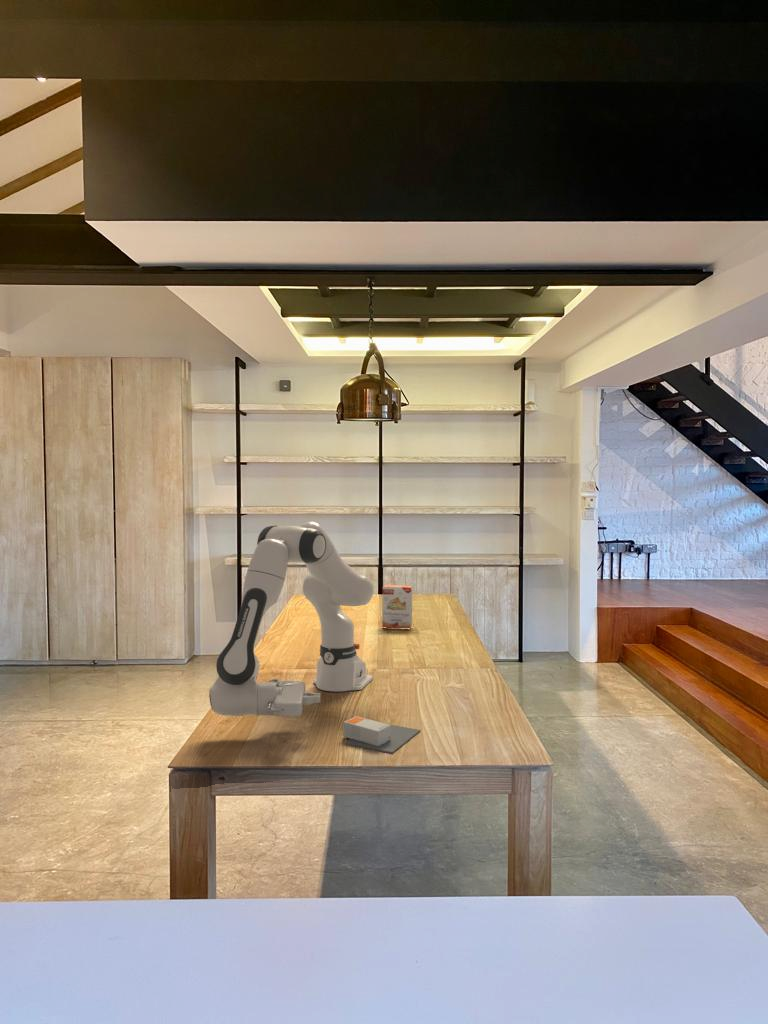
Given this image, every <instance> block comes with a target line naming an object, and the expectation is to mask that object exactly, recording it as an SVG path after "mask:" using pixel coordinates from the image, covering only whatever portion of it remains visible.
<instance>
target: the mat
mask: <svg viewBox="0 0 768 1024" xmlns="http://www.w3.org/2000/svg"><path fill="white" fill-rule="evenodd" d="M390 725H391V740H389V741H387V742H386V743H384V744H382V745H380V746H375V745H371V744H368V743H364V742H361V741H358V740H354V739H351V738H349V739H348V740H347V741H345V742H344V745H346V746H351V747H357V748H362V749H368V750H373V751H378V752H382V753H387V754H394V753H395V752H397V751H398V750H400V748H402V747H403V746H404V745H405V744H406V743H408V742H409V741H410V740H412V739H413V738H415V736H417V735H418V734H419V733H420V732H421V729H417V728H411V727H405V726H401V725H393V724H390Z"/></svg>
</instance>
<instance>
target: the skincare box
mask: <svg viewBox="0 0 768 1024" xmlns="http://www.w3.org/2000/svg"><path fill="white" fill-rule="evenodd" d="M391 725H392V724H389V723H388V724H387V723H384V722H380V721H376V720H374V719H373V720H372V719H368V718H366V717H363V716H357V715H356V716H353V717H351V718H349V719H346V720H345V721H343V722H342V737H344V738H348V739H354V740H358V741H361V742H364V743H368V744H371V745H375V746H380V745H382V744H384V743H386V742H387V741H389V740H391Z"/></svg>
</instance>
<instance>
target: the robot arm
mask: <svg viewBox="0 0 768 1024" xmlns="http://www.w3.org/2000/svg"><path fill="white" fill-rule="evenodd" d="M256 542H257V543H256V544H257V545H256V547H255V549H254V552H253V554H252V557H251V559H250V561H249V564H248V567H247V570H246V574H245V577H244V581H243V582H244V583H243V590H242V597H241V598H242V599H241V605H240V608H239V609H240V610H239V612H238V616H237V619H236V623H235V624H234V628H233V632H232V634H231V637H230V640H229V641H228V643H227V645H226V646H225V647H224V648H223V650H222V651H221V652H220V654H219V656H218V657H217V660H216V664H215V665H216V673H217V675H218V676H217V678H216V680H215V681H214V683H213V684H212V685H211V686H210V687H209V694H208V695H209V696H208V697H209V703H210V706H211V710H212V711H213V712H214V713H215V714H217V715H219V716H227V717H245V716H248V715H253V716H256V717H260V716H262V717H263V716H266V717H267V716H279V717H294V718H295V717H300V716H302V714H303V708H304V705H305V706H308V705H312V704H319V703H321V698H322V696H321V693H319V692H318V693H315V692H311V691H306V683H305V682H303V681H300V680H281V681H280V680H279V679H278V678H272V679H270V680H268V681H265V682H264V681H263V682H261V681H259V682H257V679H258V676H259V675H258V674H259V671H260V665H261V664H260V661H259V658H258V656H257V655H256V654H255V651H254V650H255V649H254V648H255V643H256V640H257V636H258V634H259V629H260V626H261V622H262V619H263V617H264V616H265V613H266V612H267V611H268V610H269V609H270V608H271V607H272V606H274V605H275V604H276V603H277V601H278V599H279V597H280V595H281V593H282V590H283V587H284V583H285V579H286V576H287V571H288V564H289V563H304V565H305V566H306V568H307V570H308V572H309V574H308V575H307V576H306V577H305V578H304V581H303V584H302V593H303V596H305V598H306V599H307V601H308V602H310V603H311V605H312V606H313V607H314V610H315V611H316V613H317V615H318V619H319V623H320V630H321V631H320V634H321V635H320V636H321V639H320V640H321V643H320V645H319V646H320V647H319V656H320V658H318V660H317V666H316V676H315V678H314V679H313V684H315V686H316V687H317V689H319V690H321V691H326V692H348V691H361V690H363V689H365V687H366V686H367V685H368V684H369V683H370V682H371V681H372V680H373V679H374V678H373V675H371V674H369V673H367V664H366V662H365V661H364V660H363V659H362V658H361V657H359V655H357V650H359V649H360V643H355V639H354V637H355V633H354V632H355V631H354V628H355V625H354V622H353V620H352V619H351V618H350V617H349V616H348V615H346V614H345V613H344V611H343V610H342V607H341V606H343V607H361V606H366V605H367V604H369V603H370V602H371V600H372V598H373V596H374V585H373V583H372V581H371V579H370V578H369V577H368V576H366V575H364V574H362V573H360V572H358V571H357V570H355V569H353V568H352V567H351V566H350V565H349V564H348V563H346V562H345V561H344V560H343V558H342V557H341V556H340V554H339V553H338V551H337V549H336V546H335V545H334V543H333V541H332V539H331V537H330V536H329V535H328V533H327V532H326V531H325V529H324V528H323V526H321V525H320V524H319V523H317V522H316V521H306V522H303V523H301V524H299V526H298V525H270V526H265V527H264V528H263V529H262V530H261V532H260V533H259V535H258V537H257V540H256Z"/></svg>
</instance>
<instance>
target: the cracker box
mask: <svg viewBox="0 0 768 1024" xmlns="http://www.w3.org/2000/svg"><path fill="white" fill-rule="evenodd" d="M381 617H382V619H381V620H382V621H381V622H382V624H381V625H382V627H386V628H411V627H413V585H393V584H392V585H391V584H384V585H383V586H382V615H381ZM382 627H381V628H382ZM411 629H412V628H411Z"/></svg>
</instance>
